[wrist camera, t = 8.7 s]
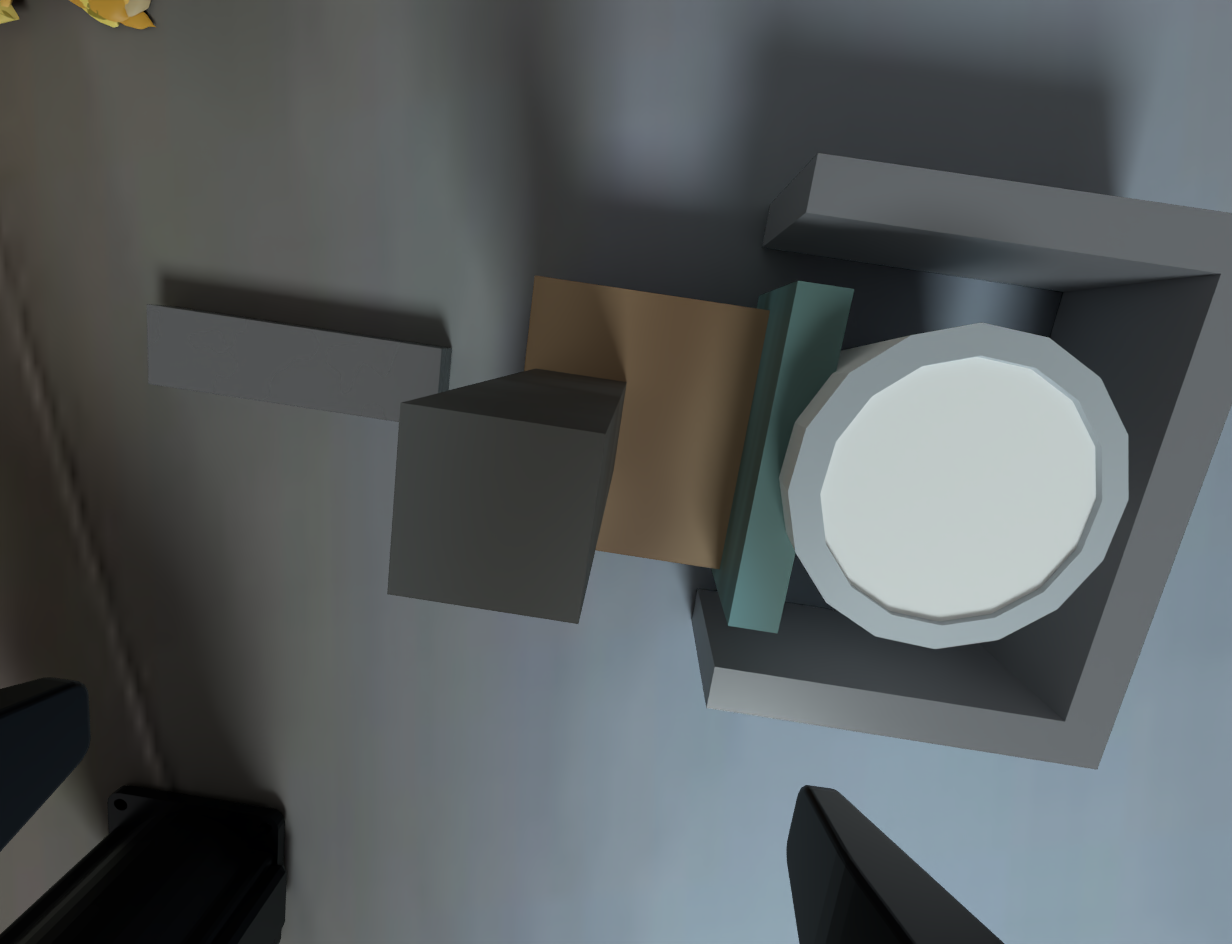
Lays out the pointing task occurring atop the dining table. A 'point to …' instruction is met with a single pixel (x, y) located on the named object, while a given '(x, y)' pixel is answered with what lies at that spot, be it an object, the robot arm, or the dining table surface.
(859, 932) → the robot arm
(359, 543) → the dining table surface
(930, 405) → the white cylinder
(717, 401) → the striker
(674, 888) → the dining table surface
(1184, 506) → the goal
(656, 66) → the dining table surface
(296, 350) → the rail
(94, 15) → the gold and teal figure
